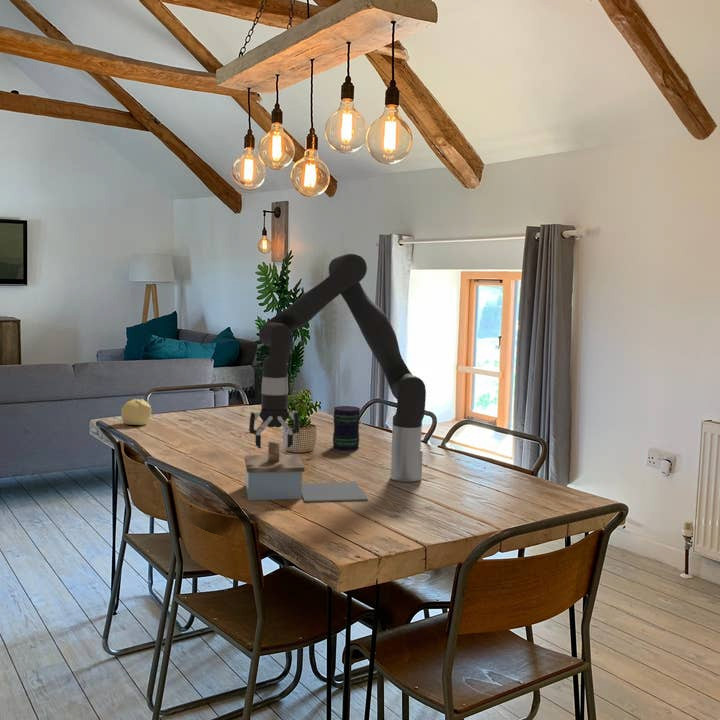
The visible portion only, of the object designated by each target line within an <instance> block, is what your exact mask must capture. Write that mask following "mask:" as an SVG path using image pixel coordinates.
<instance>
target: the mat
mask: <svg viewBox="0 0 720 720" xmlns="http://www.w3.org/2000/svg"><path fill="white" fill-rule="evenodd" d="M301 498H302V499H303V501H304V503H328V502H334V503H335V502H365V501H367V502H368V500H369V499H368V497H367V496H366V495H365V493H364V491H363V490H362V488H360V486H359V485H358V483H357V482H355V481H354V482H353V481H352V482H351V481H350V482H310V483H309V482H308V483H307V482H304V483H303V482H302V495H301Z"/></svg>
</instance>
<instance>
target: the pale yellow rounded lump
mask: <svg viewBox="0 0 720 720" xmlns="http://www.w3.org/2000/svg"><path fill="white" fill-rule="evenodd" d="M152 411H153V410H152V406H151V405H150V404H149V402H147V401H146V400H145V399H143V398H139V399H138V398H133V399H132V400H129V401H126V403H124V404H123V406H122V408H121V413H120V414H121V416H120V417H121V420H122V422H123V423H124V424H125V425H132V426H145V425H146V424H147V423H148V422H149V421H150V420H151V416H152Z"/></svg>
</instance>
